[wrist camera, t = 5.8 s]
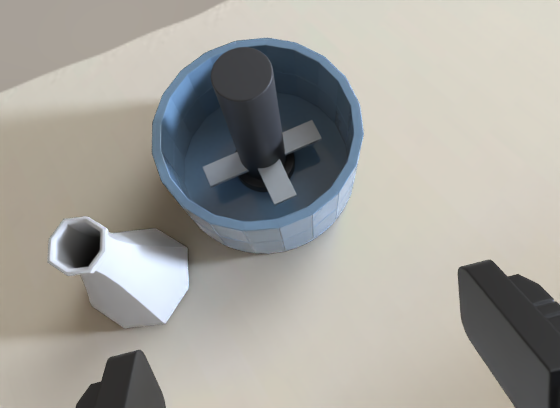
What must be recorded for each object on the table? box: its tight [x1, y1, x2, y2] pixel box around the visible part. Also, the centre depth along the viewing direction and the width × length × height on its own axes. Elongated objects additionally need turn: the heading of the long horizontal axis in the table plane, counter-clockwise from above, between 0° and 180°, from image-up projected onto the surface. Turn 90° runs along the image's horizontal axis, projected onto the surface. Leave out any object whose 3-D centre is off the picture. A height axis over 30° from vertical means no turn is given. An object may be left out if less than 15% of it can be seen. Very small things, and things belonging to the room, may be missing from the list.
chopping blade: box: [203, 47, 322, 206], centre depth 31 cm, size 8×8×12 cm
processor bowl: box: [152, 38, 364, 254], centre depth 34 cm, size 13×13×6 cm
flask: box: [48, 216, 189, 328], centre depth 30 cm, size 7×7×10 cm
